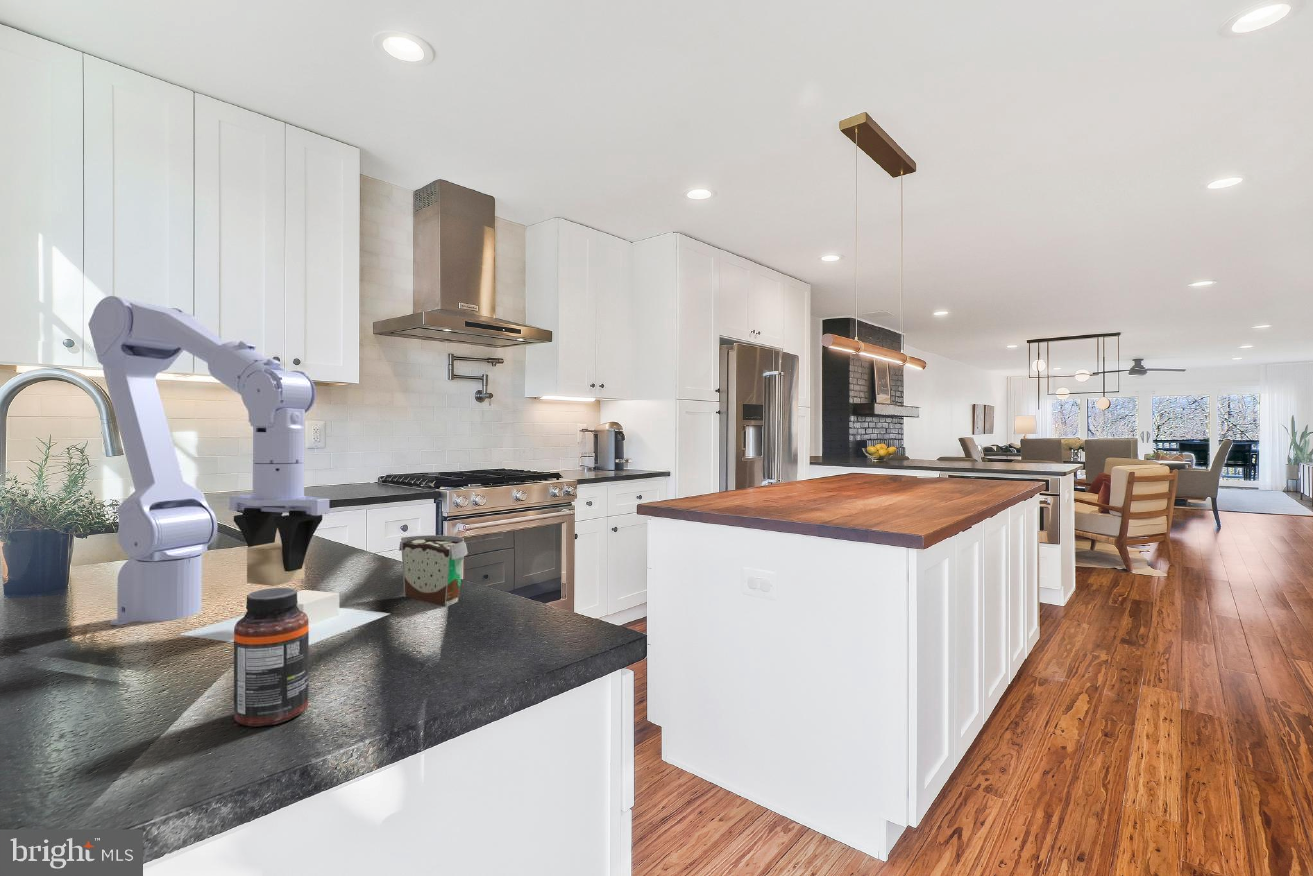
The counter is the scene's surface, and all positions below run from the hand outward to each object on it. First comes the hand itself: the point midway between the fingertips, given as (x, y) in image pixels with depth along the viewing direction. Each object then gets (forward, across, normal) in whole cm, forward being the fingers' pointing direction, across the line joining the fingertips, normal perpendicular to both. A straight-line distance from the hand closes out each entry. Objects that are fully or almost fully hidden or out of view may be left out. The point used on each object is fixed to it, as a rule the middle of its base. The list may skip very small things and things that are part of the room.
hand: (278, 568), depth 82 cm
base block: (+7, 0, +4) cm, 8 cm away
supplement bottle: (+9, +20, -18) cm, 28 cm away
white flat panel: (+8, +1, +2) cm, 9 cm away
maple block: (+2, 0, 0) cm, 2 cm away
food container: (+9, +10, +20) cm, 24 cm away
